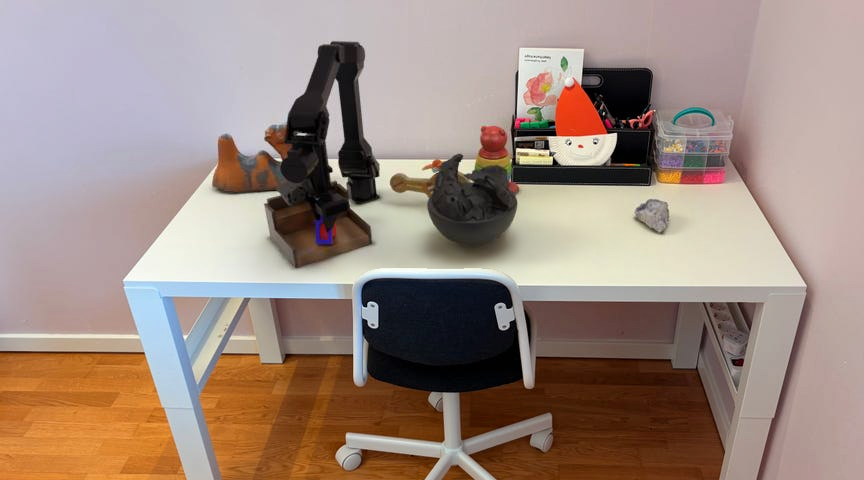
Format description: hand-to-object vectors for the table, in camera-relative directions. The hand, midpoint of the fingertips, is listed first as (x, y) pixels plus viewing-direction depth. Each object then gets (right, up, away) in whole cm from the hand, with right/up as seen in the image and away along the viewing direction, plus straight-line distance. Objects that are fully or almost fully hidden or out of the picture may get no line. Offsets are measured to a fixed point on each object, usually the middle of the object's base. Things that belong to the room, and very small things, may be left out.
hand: (324, 227), depth 163 cm
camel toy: (-23, +13, +32) cm, 41 cm away
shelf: (-2, -3, +5) cm, 6 cm away
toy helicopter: (+24, +6, +18) cm, 30 cm away
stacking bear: (+39, +10, +24) cm, 47 cm away
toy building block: (+1, -3, +1) cm, 3 cm away
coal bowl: (+33, -3, +4) cm, 34 cm away
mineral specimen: (+75, +1, +8) cm, 76 cm away
